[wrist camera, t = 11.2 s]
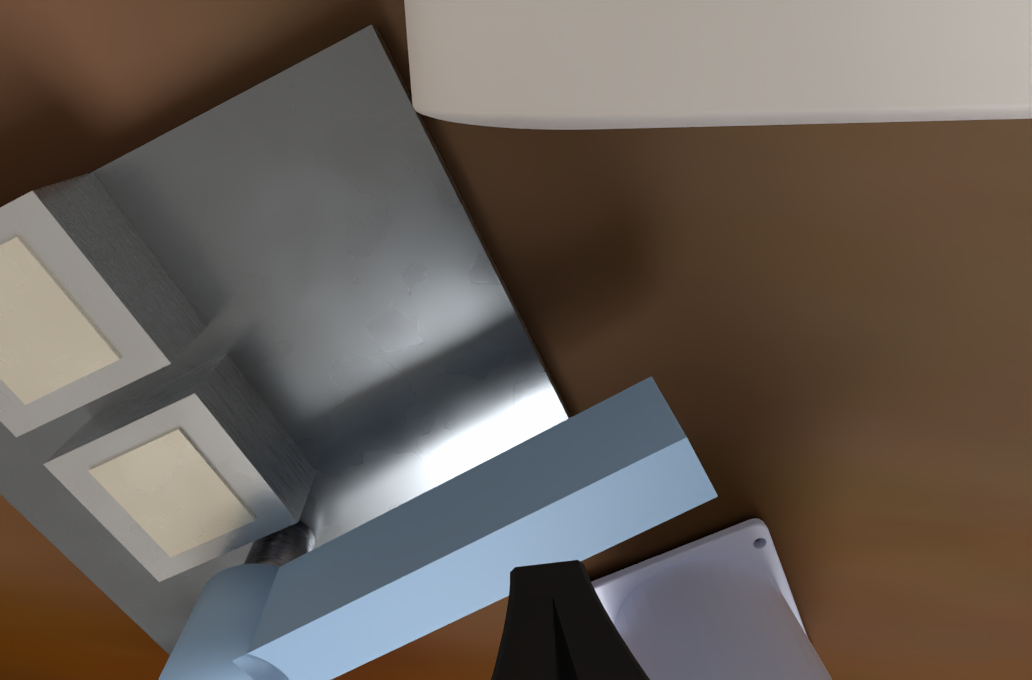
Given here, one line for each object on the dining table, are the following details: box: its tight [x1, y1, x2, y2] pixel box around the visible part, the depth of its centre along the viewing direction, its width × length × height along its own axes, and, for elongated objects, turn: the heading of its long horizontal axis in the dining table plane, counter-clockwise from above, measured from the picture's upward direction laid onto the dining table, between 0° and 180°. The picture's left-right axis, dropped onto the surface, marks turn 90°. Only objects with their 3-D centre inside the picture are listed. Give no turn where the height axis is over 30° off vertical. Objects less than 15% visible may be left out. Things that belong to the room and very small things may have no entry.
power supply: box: [43, 353, 316, 582], centre depth 19 cm, size 5×5×3 cm
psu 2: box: [0, 172, 207, 437], centre depth 17 cm, size 5×5×3 cm
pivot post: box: [244, 521, 315, 567], centre depth 21 cm, size 2×2×4 cm
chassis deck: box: [0, 25, 571, 655], centre depth 21 cm, size 18×18×1 cm
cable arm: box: [159, 376, 718, 680], centre depth 17 cm, size 16×4×3 cm, turn 119°
